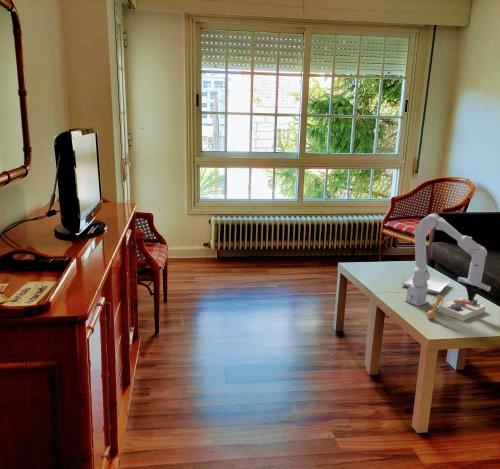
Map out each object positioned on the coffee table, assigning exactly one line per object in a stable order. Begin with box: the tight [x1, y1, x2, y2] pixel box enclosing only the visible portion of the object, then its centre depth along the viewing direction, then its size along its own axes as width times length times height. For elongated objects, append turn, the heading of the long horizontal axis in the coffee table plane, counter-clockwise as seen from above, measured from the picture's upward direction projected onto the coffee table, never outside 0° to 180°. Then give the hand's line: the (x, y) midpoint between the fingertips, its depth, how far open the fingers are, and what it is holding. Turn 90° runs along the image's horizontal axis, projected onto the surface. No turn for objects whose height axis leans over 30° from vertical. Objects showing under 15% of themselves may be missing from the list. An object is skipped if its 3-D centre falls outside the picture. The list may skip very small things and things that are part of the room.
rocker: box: [454, 298, 473, 305], centre depth 213 cm, size 3×8×1 cm, turn 37°
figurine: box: [426, 293, 444, 320], centre depth 203 cm, size 8×6×12 cm
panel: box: [437, 297, 487, 322], centre depth 214 cm, size 20×12×4 cm, turn 126°
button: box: [451, 304, 461, 312], centre depth 210 cm, size 4×4×3 cm
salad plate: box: [399, 271, 451, 295], centre depth 246 cm, size 21×21×3 cm
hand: (470, 300), depth 210 cm, fingers closed
